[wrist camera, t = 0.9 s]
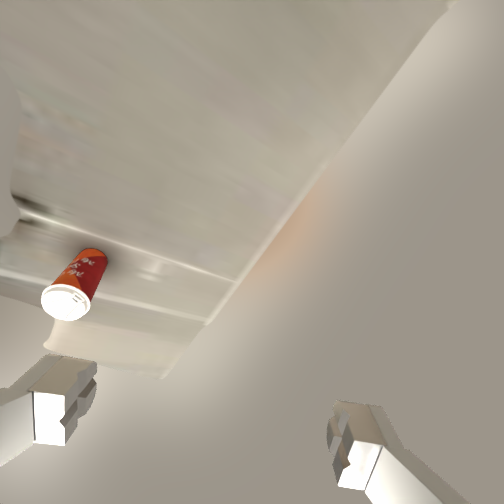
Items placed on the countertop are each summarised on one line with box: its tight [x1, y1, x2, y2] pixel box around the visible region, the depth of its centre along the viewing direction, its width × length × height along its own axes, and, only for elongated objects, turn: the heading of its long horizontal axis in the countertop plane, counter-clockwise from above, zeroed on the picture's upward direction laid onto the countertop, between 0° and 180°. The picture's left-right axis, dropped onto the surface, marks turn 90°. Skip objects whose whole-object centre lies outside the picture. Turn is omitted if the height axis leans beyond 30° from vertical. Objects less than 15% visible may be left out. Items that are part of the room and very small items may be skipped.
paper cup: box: [41, 248, 108, 320], centre depth 56 cm, size 8×8×14 cm
